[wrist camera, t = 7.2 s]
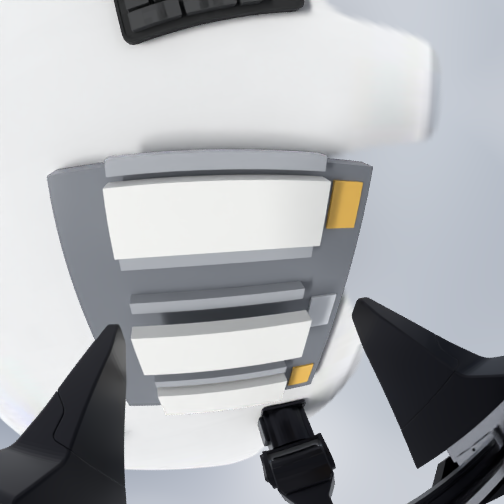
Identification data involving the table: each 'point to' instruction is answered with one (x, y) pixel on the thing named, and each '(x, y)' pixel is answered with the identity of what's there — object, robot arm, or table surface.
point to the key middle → (220, 343)
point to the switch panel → (208, 260)
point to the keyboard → (187, 14)
